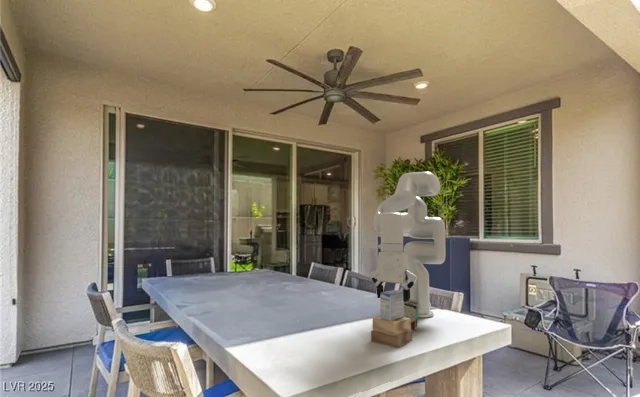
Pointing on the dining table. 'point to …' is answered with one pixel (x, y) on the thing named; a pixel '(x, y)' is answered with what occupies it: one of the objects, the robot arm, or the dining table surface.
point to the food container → (412, 313)
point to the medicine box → (391, 305)
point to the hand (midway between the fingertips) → (393, 299)
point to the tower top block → (392, 325)
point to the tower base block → (391, 338)
